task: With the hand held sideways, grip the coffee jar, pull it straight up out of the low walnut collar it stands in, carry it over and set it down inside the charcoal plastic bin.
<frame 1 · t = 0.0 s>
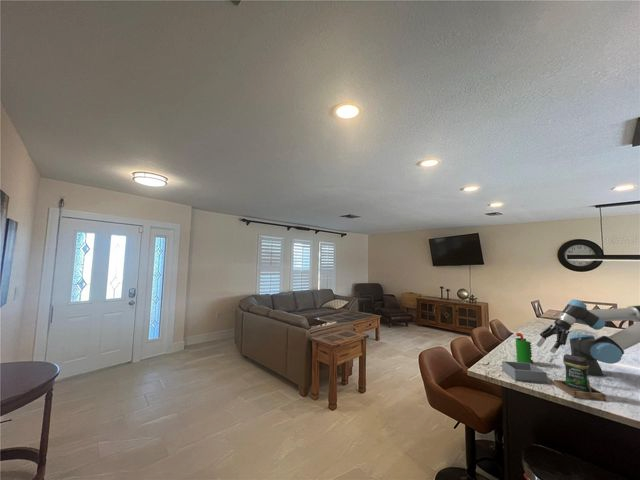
hand: (544, 348, 160), 15 cm above the worktop, tool tilted 35°, fingers open, 13 cm apart
charcoal bin: (523, 376, 154), on the worktop
walnut collar: (578, 392, 134), on the worktop
coffee jar: (578, 393, 134), resting in walnut collar
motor: (525, 363, 179), on the worktop
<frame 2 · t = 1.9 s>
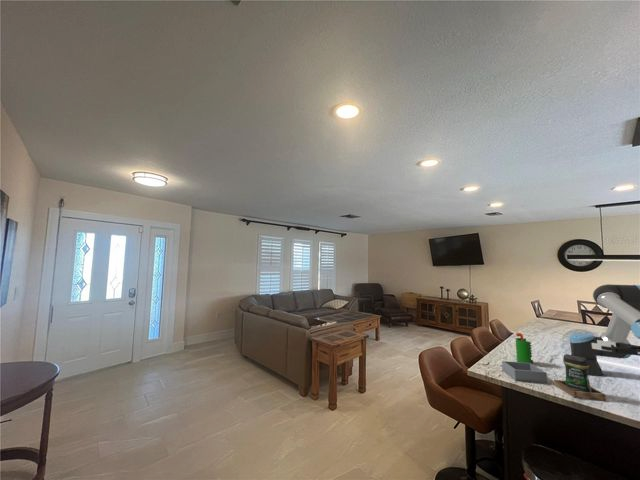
hand: (594, 344, 131), 26 cm above the worktop, tool horizontal, fingers open, 13 cm apart
nothing on the worktop moved.
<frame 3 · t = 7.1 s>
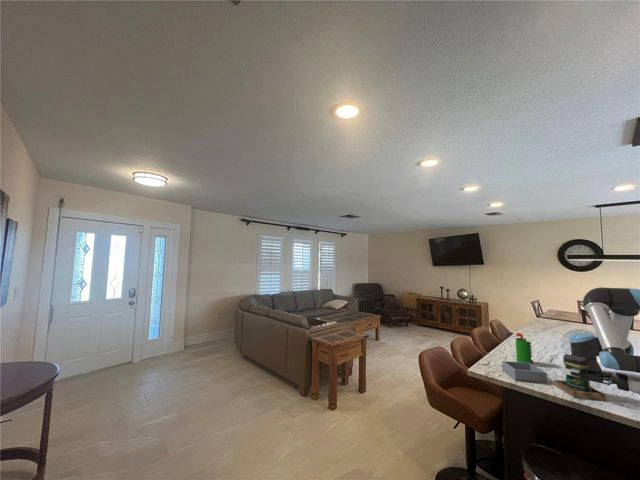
hand: (564, 368, 139), 11 cm above the worktop, tool horizontal, fingers closed on coffee jar, 8 cm apart
coffee jar: (578, 393, 134), resting in walnut collar, touching gripper
everything else where it was.
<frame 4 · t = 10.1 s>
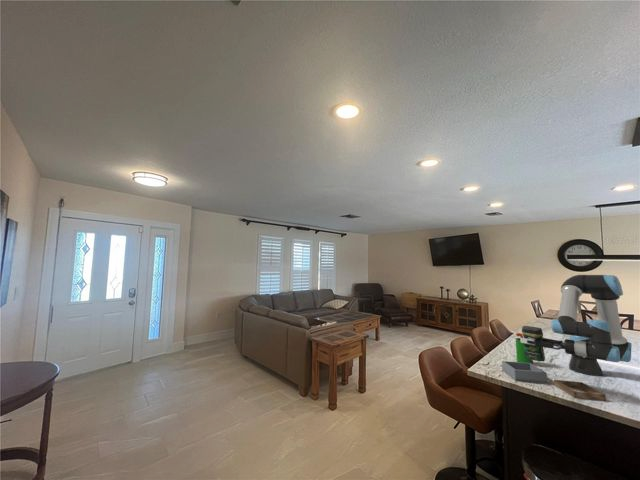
hand: (522, 338, 154), 23 cm above the worktop, tool horizontal, fingers closed on coffee jar, 8 cm apart
coffee jar: (534, 359, 149), point 12 cm above the worktop, touching gripper
everything else where it was.
when the fingers open (13 cm above the worktop, at t = 13.3 s): coffee jar drops 1 cm, resting on charcoal bin.
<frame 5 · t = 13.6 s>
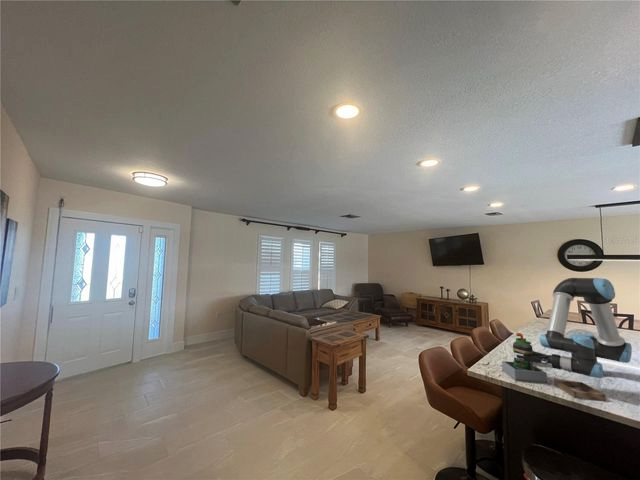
hand: (513, 352, 159), 13 cm above the worktop, tool horizontal, fingers open, 11 cm apart
coffee jar: (523, 375, 154), point 1 cm above the worktop, touching charcoal bin
everything else where it was.
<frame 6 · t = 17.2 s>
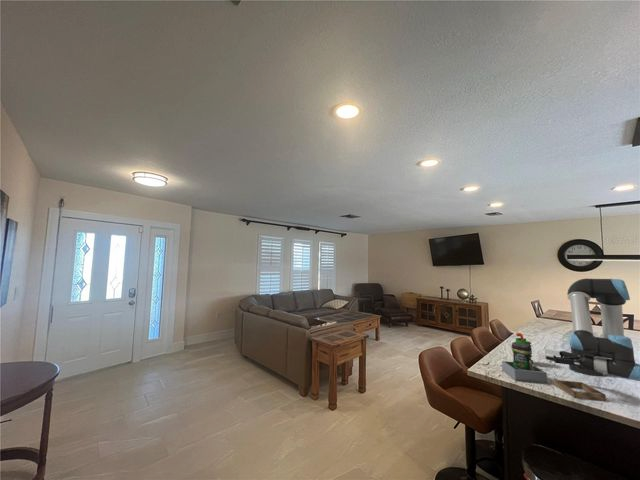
hand: (541, 353, 148), 16 cm above the worktop, tool horizontal, fingers open, 13 cm apart
nothing on the worktop moved.
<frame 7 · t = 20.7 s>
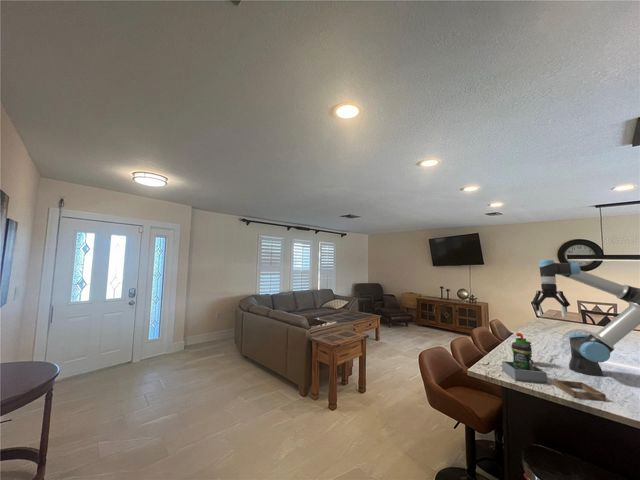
hand: (551, 316, 166), 35 cm above the worktop, tool pointing down, fingers open, 13 cm apart
nothing on the worktop moved.
at the end: coffee jar inside the target area on the charcoal bin (0.0 cm from its centre), point 0.8 cm above the charcoal bin's base; coffee jar tilted 0°; the gripper is holding nothing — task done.
